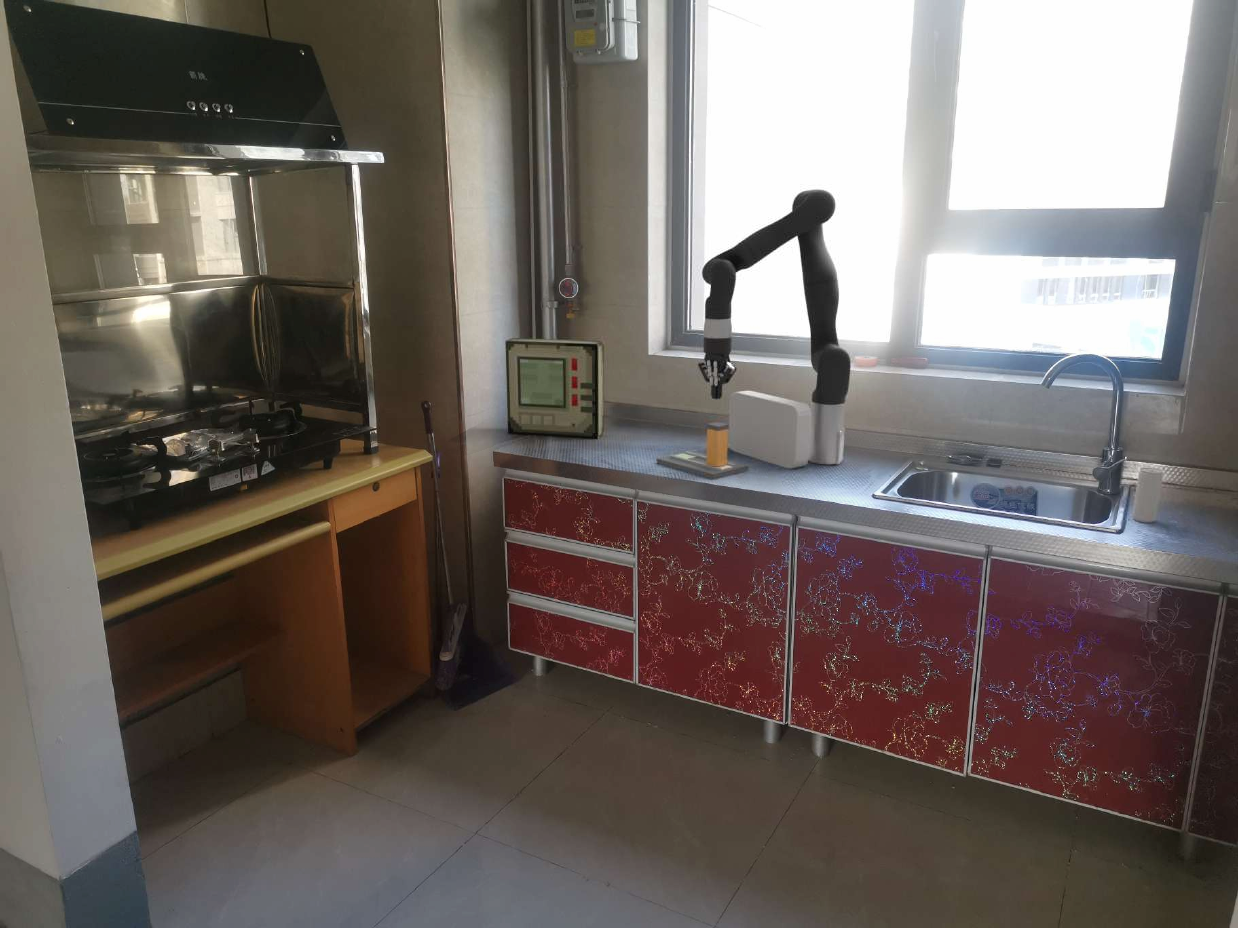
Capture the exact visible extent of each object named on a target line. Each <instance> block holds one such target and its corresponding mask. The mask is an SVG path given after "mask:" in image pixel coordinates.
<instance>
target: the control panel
mask: <svg viewBox="0 0 1238 928" xmlns="http://www.w3.org/2000/svg"><path fill="white" fill-rule="evenodd" d="M505 368H506V369H505V370H506V371H505V372H506V375H505V376H506V378H505V379H506V403H507V404H506V405H507V407H506V408H507V435H516V436H517V435H520V436H534V437H535V436H537V437H552V438H569V439H571V438H572V439H583V440H599V439H600V438H601V437H603V436H604V435H605V341H604V340H586V339H585V340H583V339H582V340H581V339H556V338H555V339H550V338H525V337H522V338H521V337H512V338H510V339H507V340H505Z"/></svg>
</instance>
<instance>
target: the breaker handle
mask: <svg viewBox="0 0 1238 928" xmlns="http://www.w3.org/2000/svg"><path fill="white" fill-rule="evenodd" d="M706 430H707V431H706V454H707V455H706V464H709V465H713V466H716V467H718V466H722V465H726V464H727V460H728V448H729V443H728V434H729V423H725V422H720V421H715V422H711V423H706Z"/></svg>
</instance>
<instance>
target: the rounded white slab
mask: <svg viewBox="0 0 1238 928" xmlns="http://www.w3.org/2000/svg"><path fill="white" fill-rule="evenodd" d="M728 406H729V408H728V409H729V412H728V413H729V415H728V424H729V429H728V448H729V449H730V450H731V451H733V452H735V453H737V454H740V455H744V456H747V457H751V458H753V459H757V460H760V461H763V462H766V463H770V464H772V465H776V466H779V467H782V468H785V469H789V470H791V469H797V468H801V467H805V466H807V465H808V462H809V446H810V430H811V406H810V405H808V404H807V403H805V402H802V401H797V400H791V399H788V398H783V397H780V396H775V395H771V394H766V393H762V392H758V391H753V390H743V391H742V390H741V391H735V392H732V393H731V394H730V396H729V405H728Z"/></svg>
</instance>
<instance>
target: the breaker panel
mask: <svg viewBox="0 0 1238 928" xmlns="http://www.w3.org/2000/svg"><path fill="white" fill-rule="evenodd" d="M706 455H707V453H703V452H699V451H695V450H688V451H683V452H679V453H675V454H669V455H665V456H660V457H656V464H657V463H659V464H658V465H660V464H661V466H664V465H665V466H664V467H668V468H671V467H672V468H671V469H675V470H679V471H682V472H685V473H689V474H692V475H696V476H699V477H703V478H706V479H709V480H717V479H722V478H724V477H729V476H732V475H736V474H740V473H745V472H748V471H749V465H748V464H744V463H742V462H738V461H733V460H729V459H727V464H726V465H722V466H718V467H716V466H713V465H709V464H706Z"/></svg>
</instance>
